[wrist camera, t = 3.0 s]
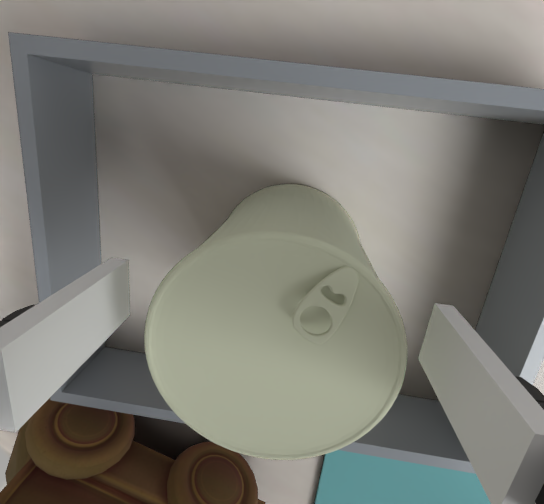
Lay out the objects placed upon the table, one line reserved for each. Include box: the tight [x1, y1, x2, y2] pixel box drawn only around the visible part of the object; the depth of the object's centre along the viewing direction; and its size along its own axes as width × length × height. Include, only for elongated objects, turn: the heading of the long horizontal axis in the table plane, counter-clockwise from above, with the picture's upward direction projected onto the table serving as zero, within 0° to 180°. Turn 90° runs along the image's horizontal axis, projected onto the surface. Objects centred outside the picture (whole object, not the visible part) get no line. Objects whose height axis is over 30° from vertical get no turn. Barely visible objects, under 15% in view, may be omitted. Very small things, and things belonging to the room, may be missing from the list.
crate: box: [8, 32, 544, 474], centre depth 20 cm, size 21×28×5 cm
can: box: [144, 184, 407, 460], centre depth 17 cm, size 9×9×12 cm
